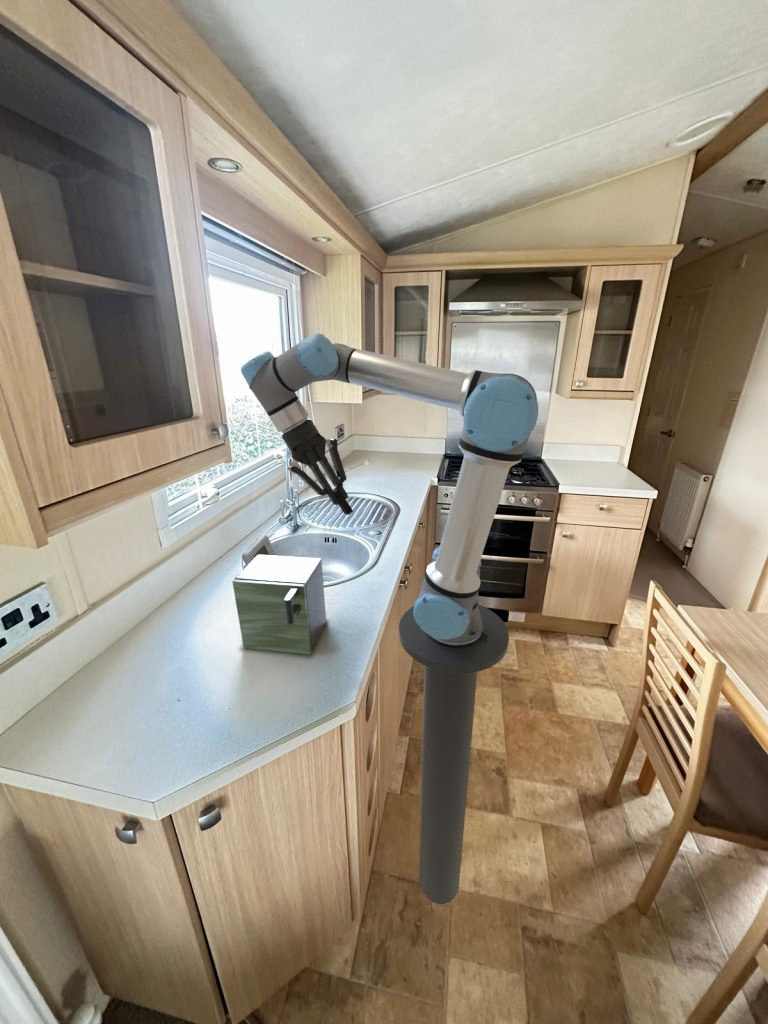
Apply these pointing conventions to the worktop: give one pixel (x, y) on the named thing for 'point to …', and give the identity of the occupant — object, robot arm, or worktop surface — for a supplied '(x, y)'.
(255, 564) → the cupboard
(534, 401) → the robot arm
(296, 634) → the door
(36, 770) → the worktop surface
